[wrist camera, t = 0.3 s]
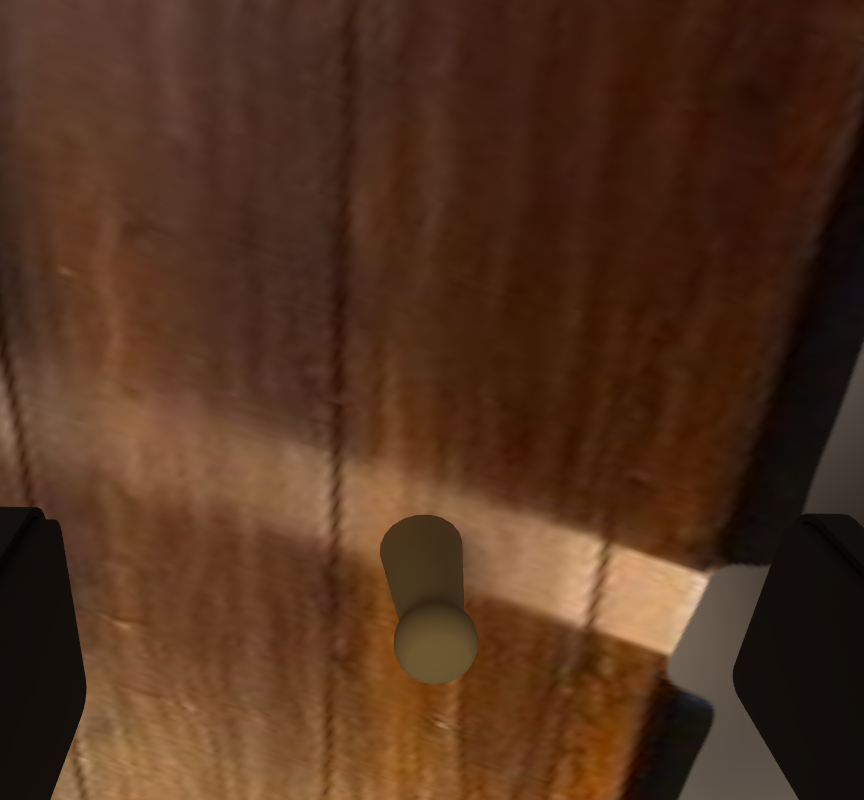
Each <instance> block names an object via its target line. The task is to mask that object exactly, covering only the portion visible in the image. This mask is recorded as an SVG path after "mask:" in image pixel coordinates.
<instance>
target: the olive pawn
mask: <svg viewBox="0 0 864 800" xmlns="http://www.w3.org/2000/svg"><path fill="white" fill-rule="evenodd" d="M380 556H381V559H382V563H383V566H384V570H385V573H386V577H387V580H388V584H389V587H390V591H391V594H392V598H393V601H394V605H395V608H396V612H397V615H398V618H399V623H398V625H397V628H396V631H395V635H394V651H395V654H396V657H397V659H398V662H399V664H400V666H401V668H402V669H403V670H404V671H405V672H406V673H407V674H408V675H409V676H410V677H412V678H414V679H416V680H418V681H420V682H423V683H428V684H440V683H445V682H449V681H452V680H454V679H456V678H458V677H459V676H461V675H463V674H464V673H465V672H466V671H467V670H468V669H469V667H470V666H471V664H472V662H473V660H474V658H475V656H476V653H477V643H478V637H477V633H476V630H475V626H474V623H473V621H472V620H471V618H470V617H469V615H468V614H467V613H466V612H465V611H464V588H463V555H462V541H461V537H460V534H459V532H458V531H457V530H456V528H455V527H454V526H453V525H452V524H451V523H449V522H448V521H446V520H444V519H443V518H440V517H436V516H432V515H416V516H412V517H409V518H405V519H403V520H401V521H400V522H398V523H396V524H395V525H393V526H392V527H391V528H390V529H389V530H388V532H387V533H386V534H385V535H384V538H383V540H382V542H381V547H380Z"/></svg>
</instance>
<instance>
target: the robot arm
mask: <svg viewBox="0 0 864 800" xmlns="http://www.w3.org/2000/svg"><path fill="white" fill-rule="evenodd" d="M733 683H734V687H735V691H736V693H737V695H738V697H739V699H740V701H741V702H742V704H743V705H744V708H745V709H746V711H747V712H748V714H749V716H750V718H751V719H752V721H753V723H754V724H755V726H756V728H757V730H758V731H759V733H760V735H761V736H762V738H763V740H764V741H765V743H766V745H767V746H768V748H769V750H770V751H771V753H772V755H773V757H774V758H775V760H776V762H777V763H778V765H779V767H780V768H781V770H782V772H783V773H784V775H785V777H786V779H787V780H788V782H789V784H790V785H791V787H792V789H793V790H794V792H795V794H796V795H797V797H798V799H799V800H864V528H863V527H862V526H861V525H860V524H859V523H858V522H857V521H856V520H855V519H853V518H852V517H850V516H849V515H845V514H803V515H800V516H799V517H798V518H797V519H796V520H795V522H794V524H792V525H789V526H788V527H786V528H785V530H784V532H783V534H782V536H781V539H780V542H779V545H778V547H777V550H776V553H775V555H774V558H773V561H772V564H771V566H770V569H769V572H768V575H767V577H766V580H765V583H764V586H763V588H762V591H761V594H760V597H759V599H758V602H757V605H756V607H755V610H754V613H753V616H752V618H751V621H750V624H749V627H748V629H747V632H746V635H745V638H744V640H743V643H742V646H741V649H740V651H739V654H738V657H737V659H736V662H735V665H734V669H733ZM85 699H86V678H85V671H84V665H83V659H82V653H81V647H80V641H79V635H78V629H77V623H76V617H75V610H74V604H73V598H72V592H71V586H70V580H69V574H68V568H67V562H66V556H65V549H64V543H63V537H62V531H61V527H60V524H59V522H58V521H57V520H47V519H45V516H44V513H43V512H42V510H41V509H40V508H38V507H0V800H50V799H51V796H52V794H53V791H54V788H55V786H56V783H57V780H58V778H59V775H60V772H61V770H62V767H63V764H64V762H65V759H66V756H67V753H68V751H69V748H70V745H71V743H72V740H73V737H74V735H75V732H76V729H77V727H78V724H79V721H80V719H81V716H82V713H83V709H84V705H85Z"/></svg>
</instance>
